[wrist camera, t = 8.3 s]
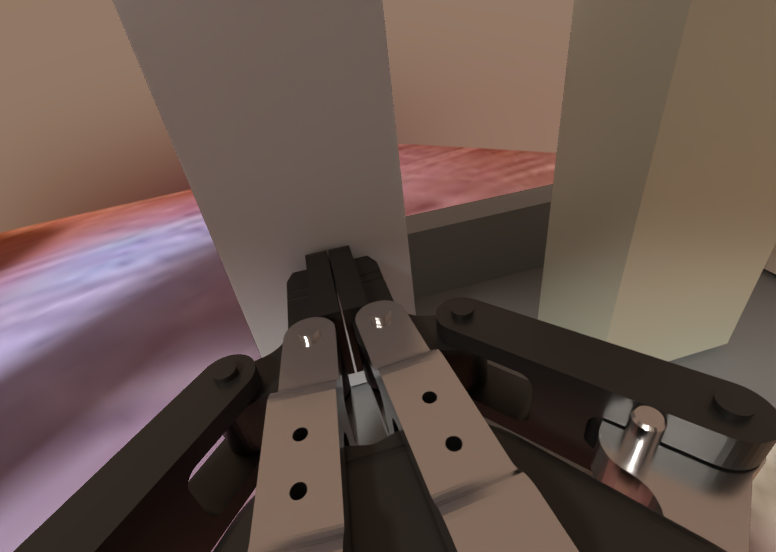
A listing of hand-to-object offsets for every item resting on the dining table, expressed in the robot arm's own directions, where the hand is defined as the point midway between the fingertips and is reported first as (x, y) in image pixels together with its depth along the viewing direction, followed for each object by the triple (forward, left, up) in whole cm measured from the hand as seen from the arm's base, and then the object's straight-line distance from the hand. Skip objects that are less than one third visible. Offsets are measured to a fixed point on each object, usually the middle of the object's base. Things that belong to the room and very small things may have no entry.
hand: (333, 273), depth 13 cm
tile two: (+9, +8, -6) cm, 13 cm away
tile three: (-2, +1, -6) cm, 6 cm away
